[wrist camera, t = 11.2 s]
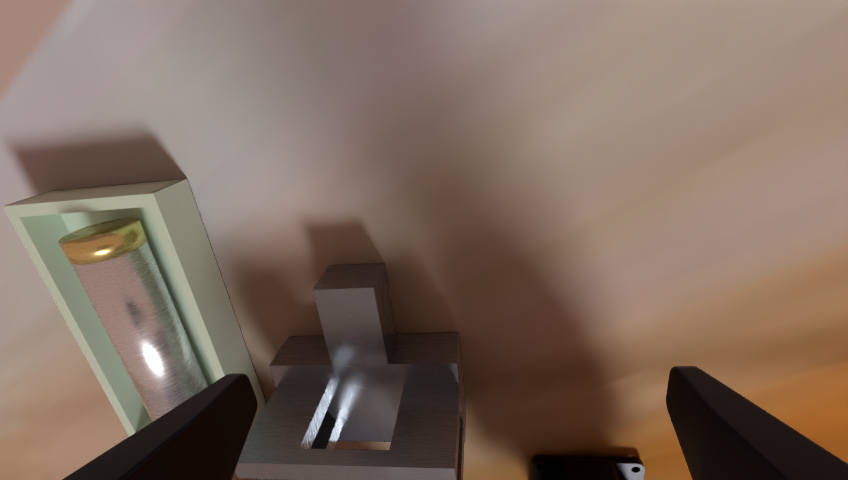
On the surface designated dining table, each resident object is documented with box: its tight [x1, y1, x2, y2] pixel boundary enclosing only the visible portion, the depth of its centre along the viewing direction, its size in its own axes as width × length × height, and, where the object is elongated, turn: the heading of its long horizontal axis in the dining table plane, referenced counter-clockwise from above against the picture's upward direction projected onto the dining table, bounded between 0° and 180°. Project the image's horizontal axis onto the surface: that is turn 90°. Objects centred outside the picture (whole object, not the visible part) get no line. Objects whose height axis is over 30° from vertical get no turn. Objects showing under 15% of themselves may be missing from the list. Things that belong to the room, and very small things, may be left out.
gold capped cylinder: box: [58, 218, 208, 422], centre depth 22 cm, size 12×3×3 cm, turn 7°
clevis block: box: [235, 263, 466, 480], centre depth 20 cm, size 10×10×7 cm
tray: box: [3, 179, 266, 437], centre depth 23 cm, size 16×8×2 cm, turn 7°
